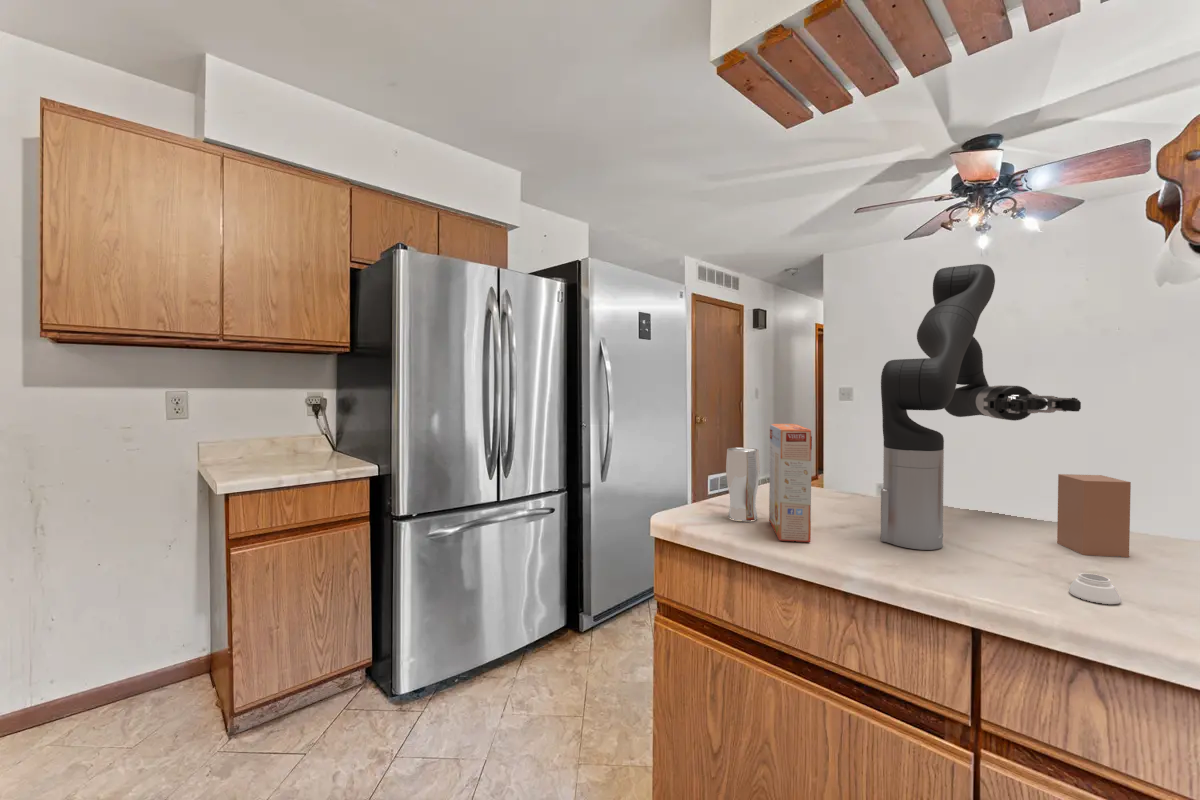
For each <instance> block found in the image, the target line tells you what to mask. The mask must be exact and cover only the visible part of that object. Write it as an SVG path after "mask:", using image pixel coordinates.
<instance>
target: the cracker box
mask: <svg viewBox="0 0 1200 800" xmlns="http://www.w3.org/2000/svg"><path fill="white" fill-rule="evenodd" d="M812 444H813V430H812V429H810V428H808V427H805V426H802V425H799V424H798V423H797V424H796V423H771V424H769V500H768V501H769V506H768V507H769V508H768V510H769V511H768V513H769V514H768V521H770V522H769V523H771V524H770V526H771V527H772V530H773V531H774V534H776V537H777V539H778V540H779V541H781V542H782V541H783V542H794V541H796V542H798V543H811V535H812V534H811V530H812V529H811V528H812V526H811V525H812V521H811V520H812V460H813V459H812V454H813V453H812V452H813V451H812V448H813V445H812Z"/></svg>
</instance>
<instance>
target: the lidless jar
mask: <svg viewBox="0 0 1200 800" xmlns="http://www.w3.org/2000/svg"><path fill="white" fill-rule="evenodd" d="M1077 575H1078V577H1077V578H1074V579H1073V581H1072V582H1071V584H1070V585H1069V586H1068V593H1070V594H1071V595H1073V596H1074V597H1076V598H1078V599H1080V598H1081V599H1080V600H1082V601H1086V600H1087V601H1086V602H1089V601H1090V603H1093V602H1096V603H1095V604H1098V603H1102V604H1101V605H1107V604H1108V605H1118V604H1121V603H1122V600H1123V599H1122V596H1121V595H1120V593H1119V592H1118V590H1117V589H1116V586H1115V585H1113V584H1112V581H1111V579H1110V578H1109V577H1106V576H1104V575H1100V574H1096V573H1090V572H1088V573H1087V572H1081V573H1078V574H1077Z"/></svg>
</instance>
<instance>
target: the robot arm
mask: <svg viewBox="0 0 1200 800" xmlns="http://www.w3.org/2000/svg"><path fill="white" fill-rule="evenodd" d="M995 276H996V275H995V272H994V269H993V268H992V267H991V266H989V265H988V264H984V263H983V264H981V263H974V264H966V265H955V266H948V267H942V268H939V269H938V270H937V271H936V273H935V275H934V277H933V281H932V298H933V302H934V303H933V305H934V306H933V307H931V308H930V309H929V310H928V311H927V312H926V314H925V315H924V317H923V319H922V321H920V324H919V326H918V329H917V332H916V341H917V343H918V346H919V347H920V349H921V350H922V352H923V353H924V354H925V355H926V356H928V358H927V357H925V358H924V357H923V358H906V359H905V358H904V359H902V358H900V359H891V360H888V361H887V362H886V363H885V364H884V366H883V368H882V371H881V374H880V375H881V376H880V396H881V397H880V399H881V413H882V415H881V416H882V436H883V473H882V474H883V475H882V476H883V479H882V480H883V483H882V484H883V485H882V486H883V487H882V488H881V491H880V542H884V543H888V544H892V545H894V546H896V547H897V546H898V547H902V548H906V549H913V550H923V551H929V550H930V551H931V550H939V549H941V548H943V547H944V542H943V541H944V540H943V539H944V470H945V469H944V467H945V466H944V465H945V463H944V459H945V457H944V453H945V450H944V448H945V445H944V444H945V439H944V435H943V434H942V433H941V432H939V431H937V430H934V429H932V428H929V427H926V426H923V425H921V424H920V423H918V422H916V421H914V420H913V419H912V418H910V417H909V415H908V411H939V410H945V411H946V412H947V413H948V414H949V415H951V416H954V417H956V418H957V417H958V418H966V417H973V416H983V417H984V416H985V417H990V418H992V419H998V420H1006V421H1015V422H1016V421H1020V420H1024V419H1025V418H1028V417H1029V416H1030V415H1031V414H1038V413H1044V414H1047V413H1048V414H1053V413H1055V412H1056V411H1057V412H1058V411H1059V412H1065V413H1066V412H1080V410H1081V408H1082V405H1081V404H1082V402H1081V401H1080V400H1079V399H1078V397H1077V398H1076V397H1058V396H1055V395H1039V394H1037V393H1036V394H1034V393H1032V392H1031V391H1030V390H1029V389H1028V388H1026V387H1023V386H1020V385H1003V384H1002V385H994V386H993V385H992V386H991V385H989V383H988V380H987V378H986V375H985V371H984V358H983V357H984V356H983V350H982V346H981V345H980V343H979V341H978V340H977V339H976V338H975V336H974V334H975V332H976V329H977V326H978V322H979V319H980V317H981V314H982V313H983V312H984V310H985V308H986V307H987V306H988V303H989V302H990V300H991V298H992V296H993V293H994V289H995V285H996V277H995ZM957 385H961V386H959V387H957ZM1046 407H1047V408H1046Z"/></svg>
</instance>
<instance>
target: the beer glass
mask: <svg viewBox="0 0 1200 800" xmlns="http://www.w3.org/2000/svg"><path fill="white" fill-rule="evenodd" d="M759 453H760V452H759V449H757V448H750V447H730V448H729V447H728V448H727V449H726V463H725V464H726V465H725V471H726V473H725V475H726V483H727V488H728V493H729V502H730V503H729V508H728V509H729V510H728V516H727V517H729V518H731V519H734V520H742V521H751V520H755V519H757V518H759V517H758V512H757V507H756V501H757V494H758V489H759V482H760V471H761V470H760V468H761V467H760V466H761V465H760V464H761V463H760V455H759ZM729 518H728V519H729ZM757 520H758V519H757Z"/></svg>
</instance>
